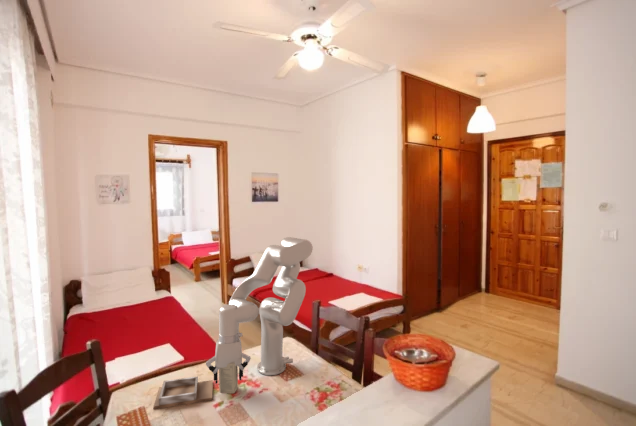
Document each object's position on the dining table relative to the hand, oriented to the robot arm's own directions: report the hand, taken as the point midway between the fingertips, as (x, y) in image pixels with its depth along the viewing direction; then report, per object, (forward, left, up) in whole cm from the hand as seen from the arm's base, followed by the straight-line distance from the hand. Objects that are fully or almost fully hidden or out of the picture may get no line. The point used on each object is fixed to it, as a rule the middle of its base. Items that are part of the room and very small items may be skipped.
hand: (228, 379), depth 129 cm
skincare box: (0, 0, -4) cm, 4 cm away
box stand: (+16, -1, -4) cm, 17 cm away
